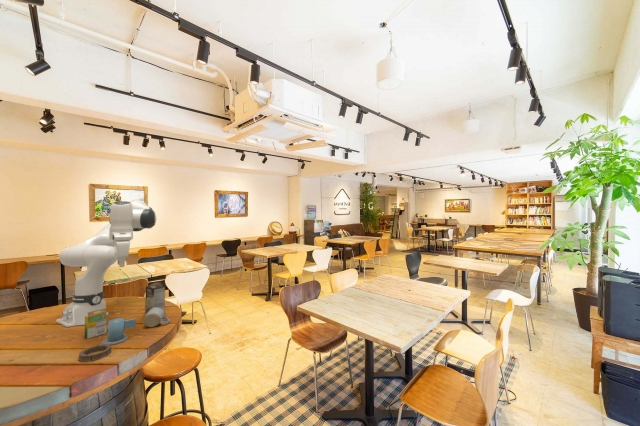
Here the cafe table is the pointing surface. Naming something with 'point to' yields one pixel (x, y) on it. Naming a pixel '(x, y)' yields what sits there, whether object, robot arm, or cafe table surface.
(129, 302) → the cafe table surface
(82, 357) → the ring holder
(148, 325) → the ceramic mug
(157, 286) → the coffee box
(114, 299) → the cafe table surface
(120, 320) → the blue pot
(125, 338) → the coaster
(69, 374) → the cafe table surface
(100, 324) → the crayon box
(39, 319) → the cafe table surface
